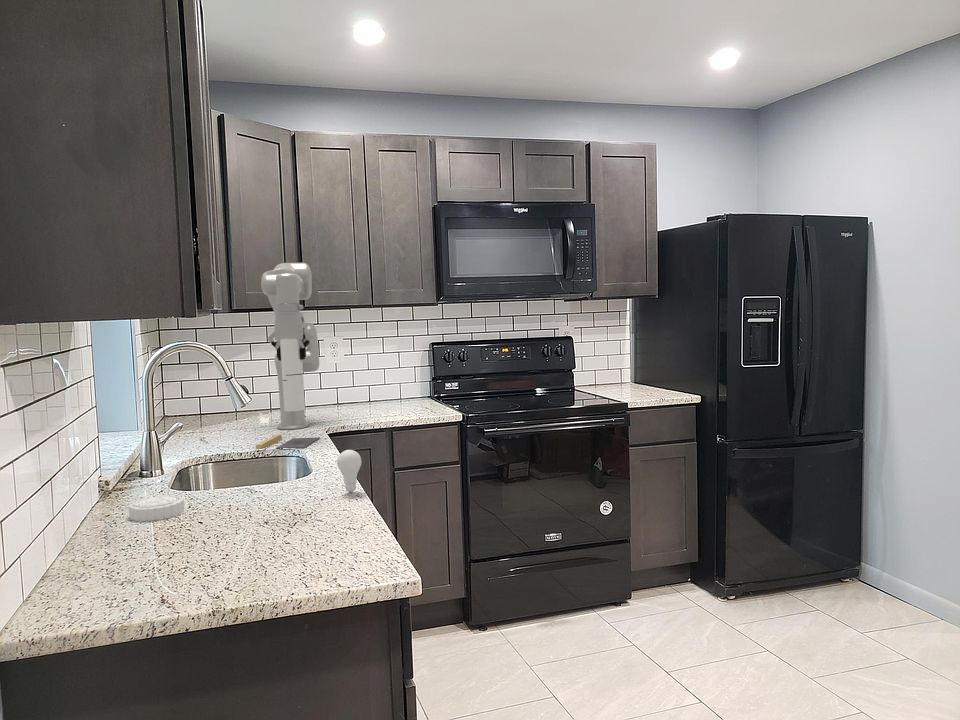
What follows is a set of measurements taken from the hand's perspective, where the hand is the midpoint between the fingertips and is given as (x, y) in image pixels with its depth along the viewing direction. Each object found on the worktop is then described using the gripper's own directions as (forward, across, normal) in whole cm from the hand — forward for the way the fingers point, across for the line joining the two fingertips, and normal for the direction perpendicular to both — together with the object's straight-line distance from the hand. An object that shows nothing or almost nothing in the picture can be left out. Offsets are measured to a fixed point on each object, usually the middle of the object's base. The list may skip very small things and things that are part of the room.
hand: (291, 359), depth 255 cm
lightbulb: (+30, -37, +70) cm, 85 cm away
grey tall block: (+18, 0, 0) cm, 18 cm away
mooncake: (+30, +6, +85) cm, 91 cm away
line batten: (+30, +10, 0) cm, 32 cm away
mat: (+30, 0, 0) cm, 30 cm away
